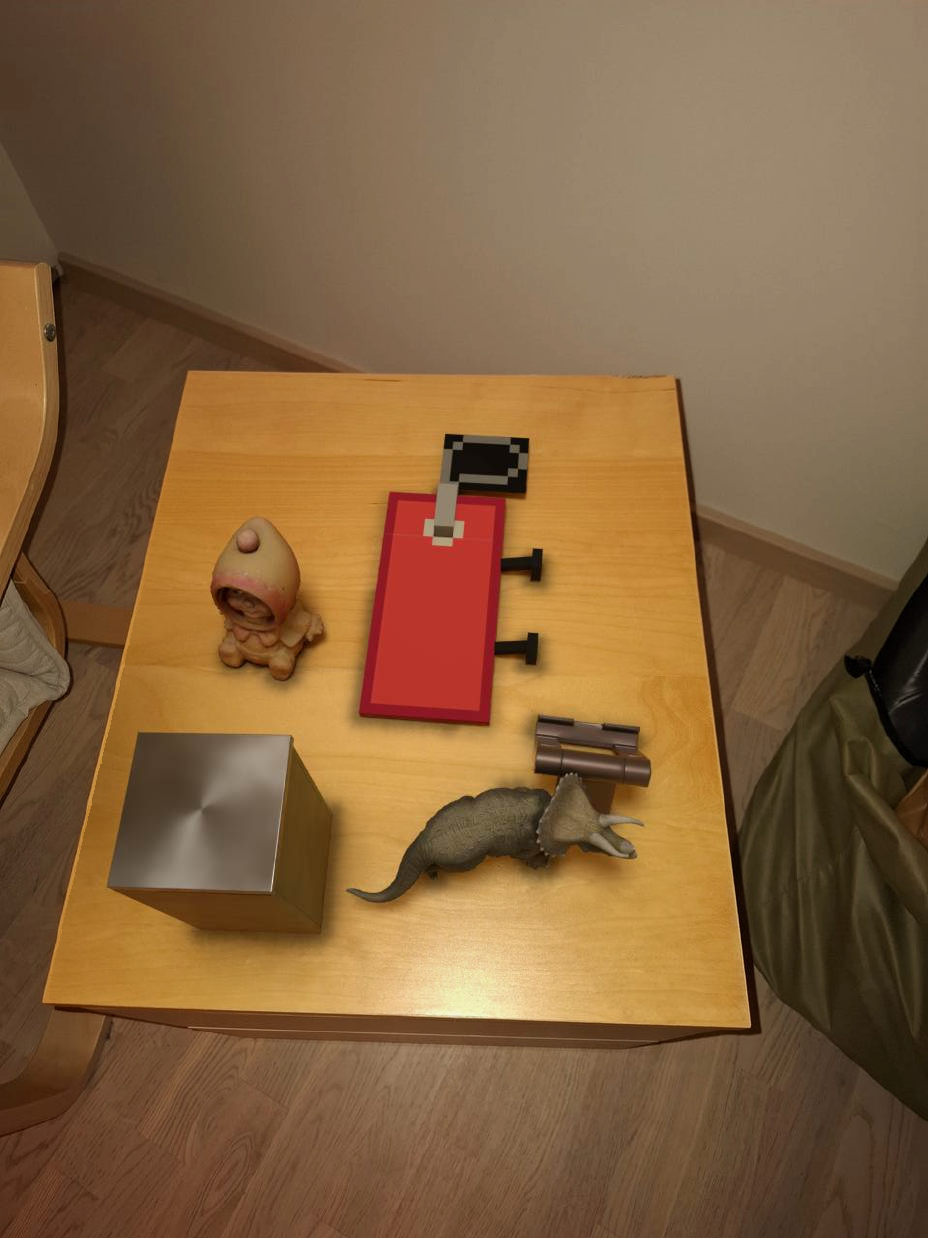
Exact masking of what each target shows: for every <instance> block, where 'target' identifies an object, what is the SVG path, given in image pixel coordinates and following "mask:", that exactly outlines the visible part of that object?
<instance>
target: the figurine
mask: <svg viewBox="0 0 928 1238" xmlns="http://www.w3.org/2000/svg"><path fill="white" fill-rule="evenodd" d="M297 559H298V558H297V557H296V554H295V553H294V550H293V549H292V547H291V545H290V544H289V543H288V541H287V539H285V536H284V535H282V533H281V532H280V531H279V529H278V528H277V527H276V526H275V525H274V524H273V523H272V522H271V521H270V520H269V519H267V518H265V517H263V516H257V515H256V516H252V517H250V518H249V519H248V520H246V521H244V523H243V524H241V525H240V527H239V528H238V529H237V530H236V531H235V532H234V533H233V534H232V536H231V538H230V539H229V540H228V542H227V544H226V545H225V547H224V548H223V551H222V552H221V553H220V555H218V557H217V559H216V562H215V564H214V567H213V571H212V572H211V576H212V578H211V582H210V585H209V589H210V593H211V598H212V600H213V603H214V606H216V608H217V609H218V610H219V615H221V616H224V617H226V619H225V620H224V625H223V629H225V631H226V635H225V637H223V638H222V642H221V643H220V644H219V646H218V649H217V654H218V657H219V659H220V660H221V661H222V662H223V663H224V664H226V665H227V666H228V667H231V668H238V667H241V666H243V665H245V664H247V663H246V662H247V661H250V662H252V663H254V664H257V665H263V666H268V671H269V673H270V675H271V676H272V677H273V678H274V679H275V680H276V681H280V682H284V681H286V680H287V679H289V677H291V675H292V673H293V671H294V668H295V666H296V664H297V658H298V656H299V655H300V654H301V652H302V650H303V646H304V643H305V642H306V641H309V642H312V641H314V638H315V637H316V636H321V635H322V634H323V632H324V629H325V627H324V622H323V620H321V619H322V616H321V615H319V614H315V613H314V614H312V613H309V612H308V611H305V609H304V607H303V605H302V604H301V602H300V600H299V599H298V598H297V594H298V592H299V590H300V587H301V583H302V581H301V570H300V565H299V562H298V560H297Z"/></svg>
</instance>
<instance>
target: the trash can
mask: <svg viewBox="0 0 928 1238" xmlns="http://www.w3.org/2000/svg"><path fill="white" fill-rule="evenodd" d="M332 825H333V812H332V810H331V809H330V807H329V805H328V804H327V802H326V799H325V798H324V797H323V795H322V793H321V791H320V789H319V788H318V786H317V784H316V783H315V780H314V779H313V778H312V776H311V774H310V771H309V770H308V769H307V767H306V765H305V763H304V761H303V760H302V758H301V757H300V755H299V753H298V751H297V749H296V747H295V746H294V745H293V752H292V760H291V768H290V777H289V785H288V793H287V801H286V809H285V818H284V826H283V834H282V842H281V850H280V858H279V867H278V875H277V883H276V891H275V894H244V893H211V892H177V891H143V890H113V891H114V892H116V893H118V894H120V895H123V896H125V897H128V898H130V899H131V900H134V901H136V902H138V903H140V904H143V905H145V906H147V907H150V908H152V909H154V910H157V911H158V912H161V913H163V914H164V915H167V916H169V917H172V918H174V919H176V920H178V921H180V922H183V923H185V924H187V925H189V926H191V927H194V928H195V929H198V930H201V931H220V932H221V931H223V932H224V931H225V932H247V933H249V932H251V933H252V932H253V933H277V934H278V933H280V934H302V935H303V934H304V935H305V934H307V935H321V933H322V927H323V925H322V923H323V915H324V904H325V895H326V884H327V876H328V875H327V873H328V866H329V865H328V864H329V856H330V855H329V854H330V846H331V845H330V844H331V833H332V832H331V831H332Z"/></svg>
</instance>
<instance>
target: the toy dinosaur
mask: <svg viewBox="0 0 928 1238" xmlns="http://www.w3.org/2000/svg"><path fill="white" fill-rule="evenodd" d="M554 791H555V792H554ZM554 791H553V794H552V795H551V793H550V792H549V791H548V790H546V789H544V788H528V787H527V786H516V787H514V788H510V787H494V788H489V789H487V790H484V791H481V792H480V793H478V794H477V795H476V796H475V797H474V796H472V795H469V794H468V795H466V794H465V795H463V796H461V797H460V798H458V799H455V800H453V801H449V802H448V803H447V804H445V805H443V806H442V807H441V808H439V809H438V810H437V811H436V813H435V814H434V815H432V816H431V817H430V819H428V820H427V821H426V823H425V826H424V829H422V830H421V831H420V832H419V833H418V834H417V836H416V838H415V839H414V840H413V841H412V842H411V843H410V844H409V845H408V847H406V849H405V851H404V854H403V855H402V858H401V861H400V863H399V865H398V869H397V873H396V875H395V878H394V879H393V881H392V882H391V883H390V885H389V886H387V887H386V888H384V889H383V890H381V891H377V892H370V891H365V890H362V889H359V888H354V887H348V888H347V889H345V892H347V893H348V894H351V895H353V896H355V897H357V898H359V899H361V900H363V901H366V902H368V903H373V904H374V903H375V904H384V903H385V904H386V903H391V902H392V901H395V900H397V899H399V898H400V897H402V896H403V895H404V894H406V893H407V892H408V891H410V890H411V888H413V886H414V885H415V884H416V883H417V882H418V881H419V879H420V877H421V876H422V874H423V873H426V874H427V876H428V877H429V879H431V880H432V881H435V882H437V881H438V879H439V878H438V877H439V876H438V872H440V871H444V872H447V873H450V874H451V873H452V874H453V873H455V874H456V873H457V874H463V873H468V872H471V871H474V870H475V869H476V868H477V867H478V866H479V865H481V864H483V863H484V862H485V860H486V859H487V856H488V857H490V858H503V857H509V858H511V859H513V860H517V861H519V862H521V863H526V866H527V867H528V868H532V869H533V870H534V871H537V870H538V869H539V868H543V869H549V868H550V866H551V864H550V862H549V860H550V859H553V858H555V857H556V856H561V857H564V858H565V856H566V853H567V852H568V851H569V850H570V849H571V848H573V846H577V847H579V850H580V852H582V853H584V854H588V853H593V854H602V855H606V856H607V857H615V858H619V859H623V860H635V859H636V858H638V853H637V851H636V847H635V846H634V845H633V843H632V842H631V841H630V840H628V839H627V838H624V837H623V836H621V835H619V834H618V833H616V832H615V831H614V830H613V829H612V828H611V826H617V825H624V824H631V825H637V826H640V827H643V828H645V827H646V825H645V823H644V822H643V821H641V820H639V819H637V818H634V817H632V816H627V815H623V814H616V813H614V814H613V813H611V814H610V813H609V814H606V815H604V814H601V813H598V812H597V811H596V810H595V809H594V808H593V807H592V805H591V803H590V801H591V797H590V796H589V795H588V794H587V792H586V785H584V784H583V782H582V778H581V777H580V778H578V775H577V773H576V774H575V775H573V773H570V774H569V775H568V774H566V775H565V776H564V777H563V778H561V779H560V781H559V783H558V786H557V787H556V789H555V788H554Z"/></svg>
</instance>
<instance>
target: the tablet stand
mask: <svg viewBox="0 0 928 1238" xmlns="http://www.w3.org/2000/svg"><path fill="white" fill-rule="evenodd" d="M640 731H641V726H638V725H637V726H636V725H628V724H620V723H612V722H603V723H597V722H590V721H589V722H588V721H581V720H575V719H574V718H572V717H563V716H555V715H548V714H537V717H536V723H535V733H534V742H535V746H536V748H535V758H534V767H533V773H534V774H536V775H545V776H552V777H556V780H555V786H554V791H553V793H554V792H555V789H556V787H557V786H558V783H559V781H560V779H561V778H563V777H564V776H565V775H566V774H568V775H569V774H570V773H573V775H575V774H576V773H577V775H578V778H580V777H581V778H582V782H583V784H584V785H586V792H587V794H588V795H589V796H590V797H591V801H590V803H591V805H592V807H593V808H594V809H595V810H596V811H597V812H598V813H601V814H604V815H606V814H610V813H611V809H612V806H613V801H614V797H615V794H616V789H617V786H618V785H623V786H630V787H639V788H646V789H647V788H648V787H649V785H650V781H651V778H652V773H653V771H652V762H651V759H650V758H648V756H647V755H646V754H645V753H643V752H642V751H640V750H639V748H638V740H639V733H640ZM561 743H564V744H566V743H567V744H573V745H582V746H589V747H597V748H604V749H605V748H606V749H612V750H614V751H615V752H616V753H617V754H618V755H617V754H610V753H601V752H594V751H586V750H579V749H571V748H563V746H562V745H561Z"/></svg>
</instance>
